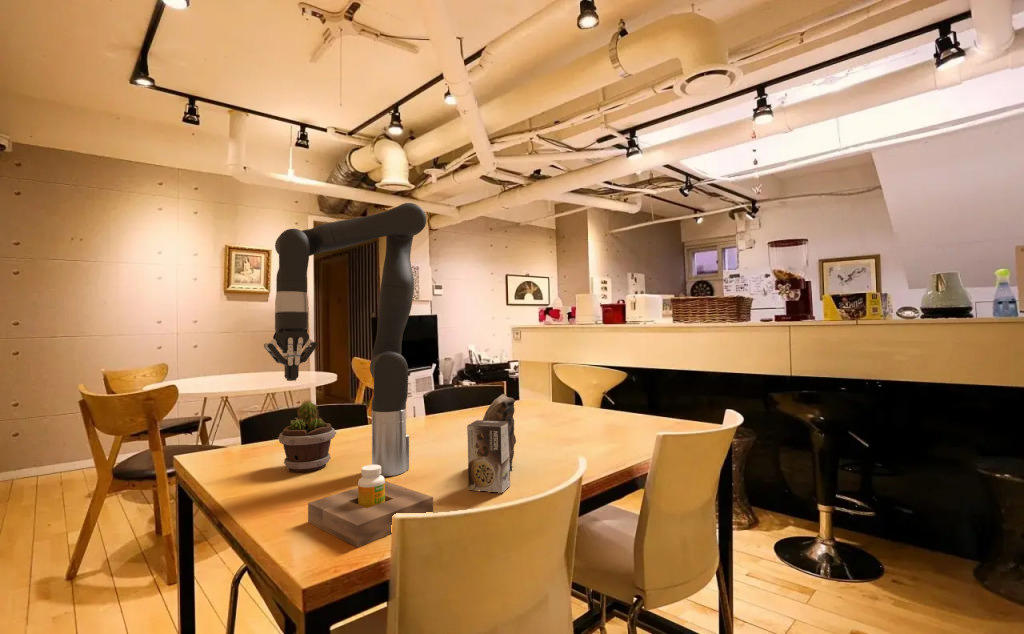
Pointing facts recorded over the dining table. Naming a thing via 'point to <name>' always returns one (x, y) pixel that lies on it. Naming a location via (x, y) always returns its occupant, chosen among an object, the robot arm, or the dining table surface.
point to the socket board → (365, 513)
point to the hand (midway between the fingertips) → (291, 380)
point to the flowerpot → (307, 441)
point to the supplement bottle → (371, 486)
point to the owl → (503, 418)
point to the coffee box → (488, 456)
